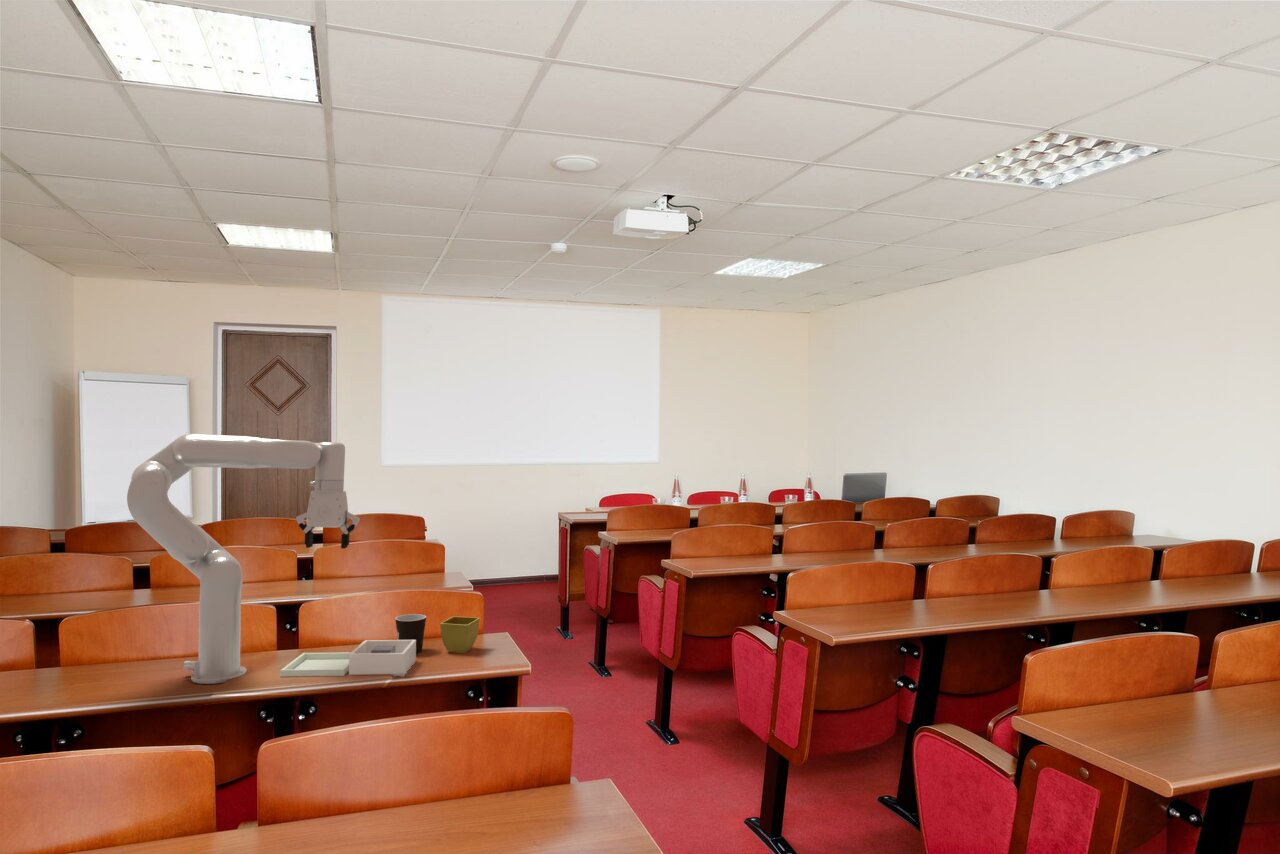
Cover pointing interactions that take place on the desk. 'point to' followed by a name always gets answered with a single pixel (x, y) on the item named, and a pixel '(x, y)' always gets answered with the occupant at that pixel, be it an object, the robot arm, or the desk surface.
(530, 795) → the desk surface
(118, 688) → the desk surface
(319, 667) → the tray
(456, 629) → the flower pot
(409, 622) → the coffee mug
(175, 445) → the robot arm
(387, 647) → the stone cube
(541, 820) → the desk surface
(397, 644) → the bin
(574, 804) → the desk surface
